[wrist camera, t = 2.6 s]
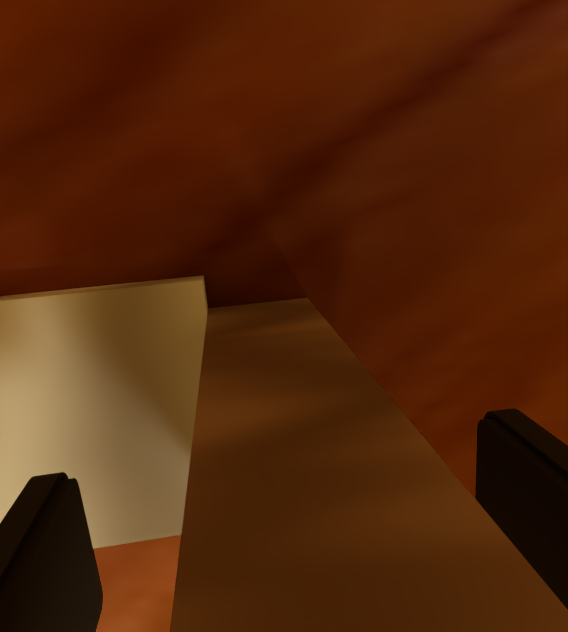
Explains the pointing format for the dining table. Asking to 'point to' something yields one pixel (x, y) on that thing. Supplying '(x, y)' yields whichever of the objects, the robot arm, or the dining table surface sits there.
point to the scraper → (252, 465)
